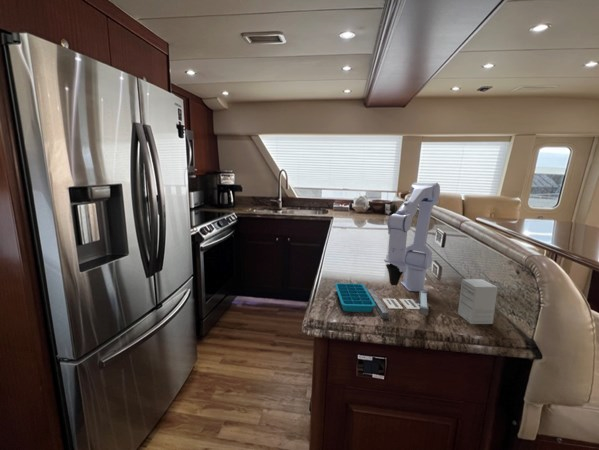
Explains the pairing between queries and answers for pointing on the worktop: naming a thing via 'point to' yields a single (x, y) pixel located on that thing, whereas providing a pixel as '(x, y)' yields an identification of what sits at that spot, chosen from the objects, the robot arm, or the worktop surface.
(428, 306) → the pivot base
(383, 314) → the rail
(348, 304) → the ice cube tray
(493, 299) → the supplement box
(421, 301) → the bar
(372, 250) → the worktop surface
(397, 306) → the psu label
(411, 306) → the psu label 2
